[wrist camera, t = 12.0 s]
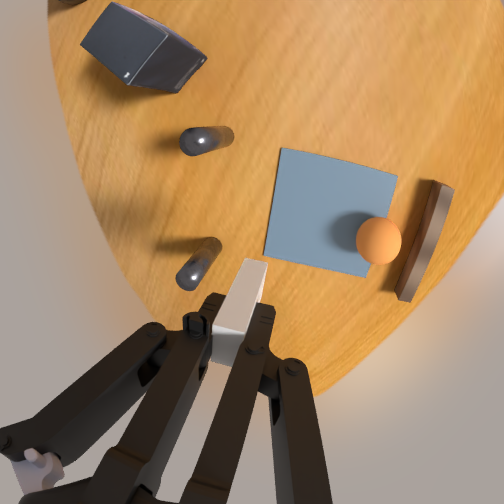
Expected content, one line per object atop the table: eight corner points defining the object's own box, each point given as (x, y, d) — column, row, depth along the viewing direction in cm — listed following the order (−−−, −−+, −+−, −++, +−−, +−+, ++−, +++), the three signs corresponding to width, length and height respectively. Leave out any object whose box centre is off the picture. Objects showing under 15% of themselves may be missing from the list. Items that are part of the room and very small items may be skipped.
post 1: (214, 125, 29) (180, 126, 22) (235, 127, 29) (207, 128, 21) (211, 145, 31) (178, 154, 23) (232, 148, 30) (204, 157, 22)
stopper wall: (433, 180, 26) (442, 184, 24) (445, 184, 26) (454, 189, 24) (394, 289, 34) (398, 300, 32) (405, 292, 34) (410, 302, 32)
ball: (409, 223, 28) (370, 208, 31) (404, 231, 24) (357, 213, 27) (395, 264, 30) (358, 247, 33) (387, 279, 26) (343, 259, 29)
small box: (211, 56, 26) (170, 33, 16) (177, 95, 28) (127, 89, 19) (159, 20, 24) (111, -2, 14) (129, 56, 27) (76, 46, 17)
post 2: (204, 235, 36) (175, 268, 28) (222, 239, 36) (197, 273, 28) (203, 252, 38) (175, 287, 30) (221, 256, 37) (197, 293, 29)
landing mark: (282, 147, 29) (281, 147, 29) (397, 175, 27) (397, 176, 27) (263, 254, 36) (263, 255, 36) (365, 277, 34) (365, 277, 34)
